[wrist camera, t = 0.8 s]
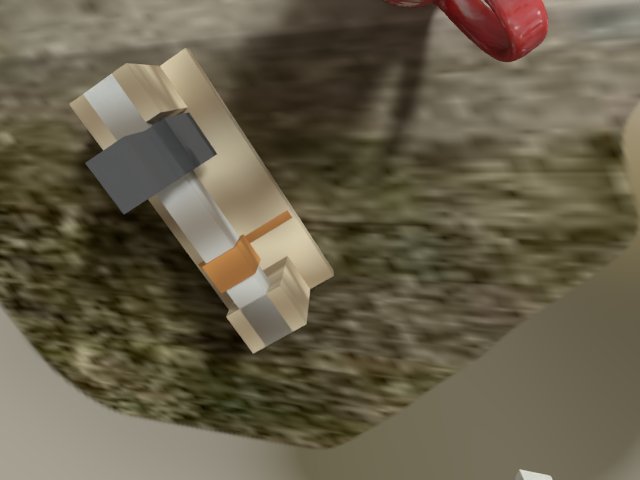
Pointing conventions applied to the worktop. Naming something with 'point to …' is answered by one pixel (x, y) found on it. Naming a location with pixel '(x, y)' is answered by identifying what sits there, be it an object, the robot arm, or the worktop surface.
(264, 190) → the rail
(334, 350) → the worktop surface
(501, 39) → the mug
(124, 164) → the dark grey sliding collar
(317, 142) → the worktop surface
